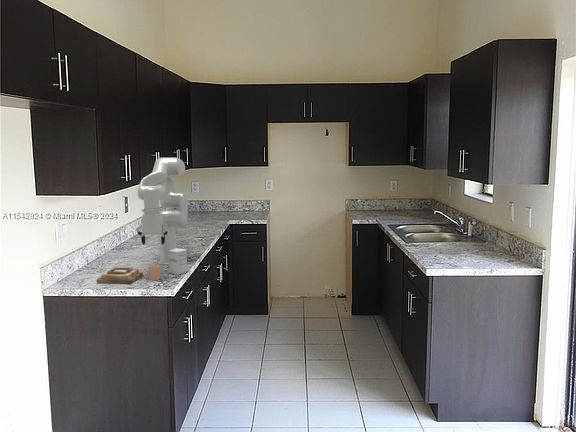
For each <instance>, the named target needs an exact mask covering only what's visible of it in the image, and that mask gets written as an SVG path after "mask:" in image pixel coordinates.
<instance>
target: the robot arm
mask: <svg viewBox="0 0 576 432" xmlns="http://www.w3.org/2000/svg"><path fill="white" fill-rule="evenodd" d="M185 172H186V165H185V163H184V161H183V160H182V159H180V158H178V157H159V158H157V159H155V162H154V165H153V169H152V172H151V173H150V174H148V175H146V176H145V177H143V178H142V179H141V181H140V182H139V186H138V188H137V189H138V190H137V197H138V199H140V200H142V201H143V205H144V206H143V207H144V208H142V209H141V212H142V213H143V214H142V218H141V219H142V220H141V225H140V226H137V227H136V228H135V231H136V233H137V234H138V235H139V236H140V237H141V239H140V240H141V243H142V245H146V236H145V235H147V234H148V235H149V234H150V235H156V234H157V235H159V236H158V238H159V239H158V241H159V260H158V261H157V264H160V266H169V262H168V250H172V249H176V248H177V235H176V231H175V229H174V226H175V227H176V226H177V227H179V226H186V225H187V223H188V213H189V211H188V209H189V208H188V207H189V201H188V200H189V199H188V194H187V192H185V191H183V190H182V191H181V190H180V191H179V190H178V191H176V183H175V181H174V180H173V178H172V177H171V176H182V175H184V174H185ZM160 206H161V207H162V208H170V209H161V210H160ZM172 208H173V209H172ZM174 208H177V209H174ZM140 230H141V231H140Z"/></svg>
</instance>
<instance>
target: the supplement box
mask: <svg viewBox="0 0 576 432" xmlns="http://www.w3.org/2000/svg"><path fill="white" fill-rule="evenodd" d="M187 252H188V250H187V249H185V248H184V249H182V248H177V247H176V249H172V250H168V262H169V265H168V273H169V274H176V275H181V274H185V273H187V272H188V253H187Z"/></svg>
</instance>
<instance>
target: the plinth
mask: <svg viewBox="0 0 576 432" xmlns="http://www.w3.org/2000/svg"><path fill="white" fill-rule="evenodd" d="M143 277H144V272H139V269H138V268H133V267H114V268H112V269H110V270H108V271H106V272H104V273H102V274H100V277H98V278H96V284H102V285H103V284H104V285H106V284H107V285H108V284H109V285H114V284H115V285H132V284H134V283H135V282H137V281H139V280H140V279H141V278H143Z"/></svg>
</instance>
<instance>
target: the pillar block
mask: <svg viewBox="0 0 576 432" xmlns="http://www.w3.org/2000/svg"><path fill="white" fill-rule="evenodd" d="M147 268H148V270H147V271H148V281H157V280H160V279H161V278H162V277H161V264H158V263H157V264H149V265H148V267H147Z"/></svg>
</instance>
